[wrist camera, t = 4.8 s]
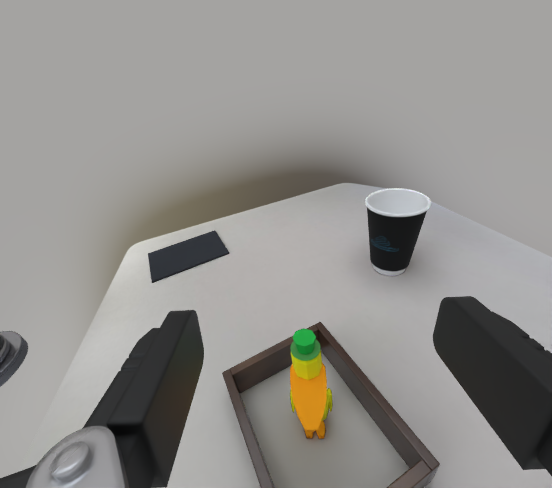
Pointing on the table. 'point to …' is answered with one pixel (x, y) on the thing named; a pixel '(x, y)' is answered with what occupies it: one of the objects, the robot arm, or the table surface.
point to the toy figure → (309, 383)
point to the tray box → (361, 386)
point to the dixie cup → (394, 227)
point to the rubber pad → (185, 255)
